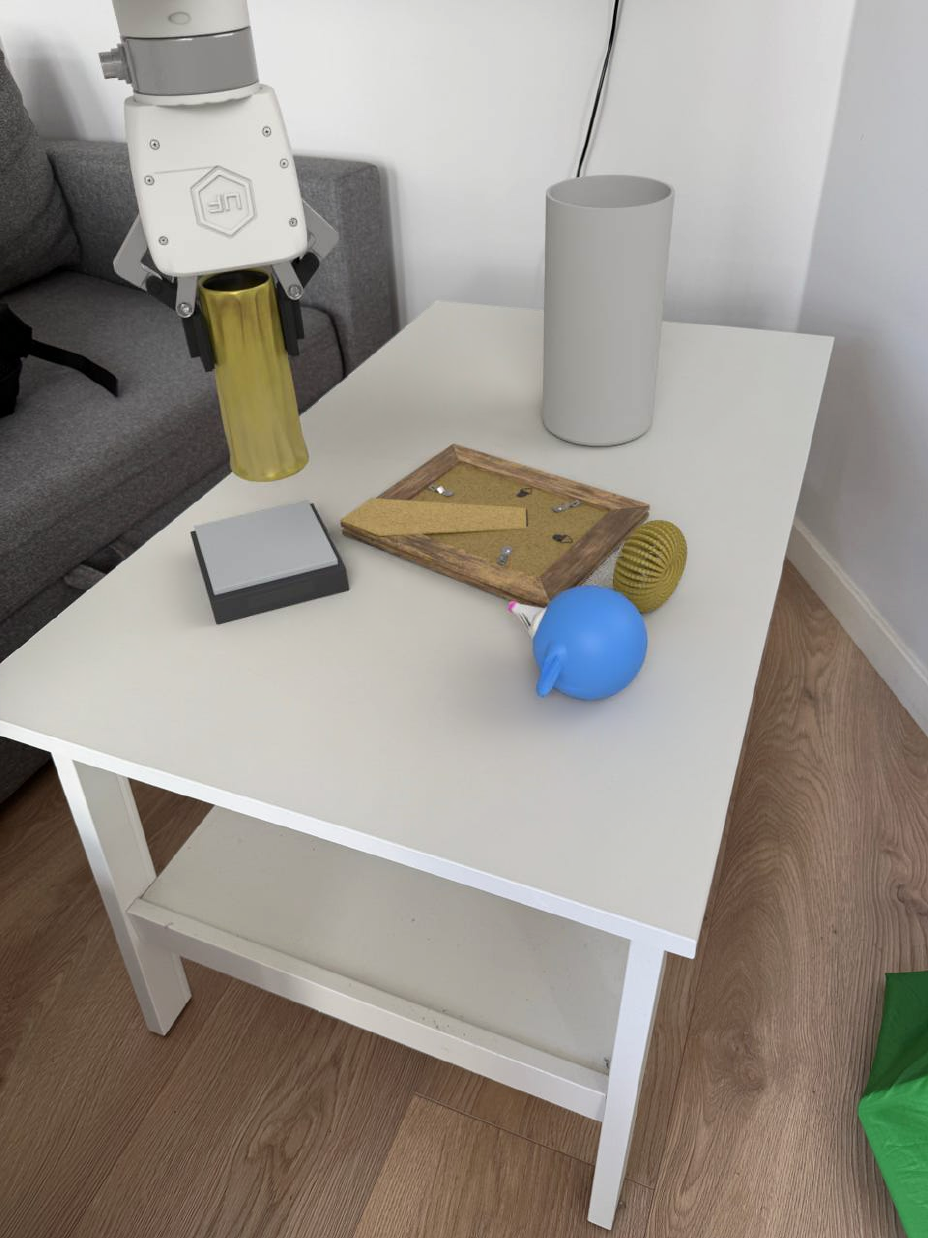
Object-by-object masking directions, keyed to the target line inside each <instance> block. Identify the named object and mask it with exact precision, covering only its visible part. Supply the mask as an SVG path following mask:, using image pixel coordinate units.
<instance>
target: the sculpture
mask: <svg viewBox="0 0 928 1238" xmlns="http://www.w3.org/2000/svg"><path fill="white" fill-rule="evenodd" d="M687 559H688V544H687V540H686V537H685V535H684V533H683V532H682V530H681V529H680V528H679V526H677V525H675V524H674V523H673V522H670V521H667V520H664V519H653V520H650V521H646V522H643V523H642V524H641V525H640V526H639V527H638V528H637V529H636V530H635V531H634V532H632V533H631V535H630V536H629V537H628V538H627V539H626V540H625V541H624V542H623V545H622V546H621V549H620V551H619V553H618V556H617V557H616V561H615V564H614V568H613V574H612V584H613V590H614V591H617V592H620V593H621V594H622V595H624V596H625V597H626V598H627V599H628V600H630V601H631V602H632V603H633V604H634V606H635V607H636V608H637V609H638V611H639V612H640V614H641V613H648V612H649V613H650V612H653V611H655V610H657V609H659V608H660V607H662V606H663V605H664V604H665V603H666V602H667V601H668V600H669V599H670V598H671V597H672V596H673V594H674V592H675V591H676V589H677V587H678V586H679V584H680V583H679V582H681V580H682V577H683V574H684V571H685V569H686V564H687V561H688V560H687Z"/></svg>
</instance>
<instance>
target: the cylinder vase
mask: <svg viewBox="0 0 928 1238" xmlns="http://www.w3.org/2000/svg"><path fill="white" fill-rule="evenodd" d="M675 195H676V190H675V187H673V185H671V184H669V183H668V182H665V181H663V180H660V179H656V178H652V177H648V176H647V177H646V176H639V175H632V174H631V175H630V174H596V175H595V174H594V175H586V176H577V177H573V178H569V179H568V178H567V179H563V180H560V181H558V182H555V183H554V184H551V185H550V186H549V187H547V188H546V191H545V225H544V226H545V227H544V229H545V230H544V236H545V237H544V243H545V245H544V292H543V293H544V295H543V296H544V297H543V306H544V307H543V354H542V355H543V356H542V357H543V360H542V361H543V362H542V421H543V424H544V426H545V428H546V429H547V431H549V432H550V433H551V434H553V435H554V436H555V437H557V438H559V439H560V440H562V441H566V442H568V443H571V444H575V445H579V446H588V447H610V446H617V445H622V444H626V443H629V442H631V441H634V440H636V439H638V438H640V437H641V436H643V435H644V434H645V433H646V432H648V430H649V428H650V427H651V426H652V423H653V419H654V409H655V408H654V407H655V399H656V388H657V379H658V378H657V377H658V367H659V357H660V347H661V338H662V327H663V317H664V307H665V295H666V287H667V278H668V277H667V275H668V266H669V256H670V246H671V237H672V236H671V235H672V225H673V216H674V205H675Z"/></svg>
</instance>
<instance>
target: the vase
mask: <svg viewBox="0 0 928 1238" xmlns="http://www.w3.org/2000/svg"><path fill="white" fill-rule="evenodd" d="M197 294H198V298H199V303H200V309H201V311H202V314H203V316H204V320H205V324H206V329H207V333H208V338H209V343H210V347H211V352H212V356H213V361H214V365H215V369H213V373H214V381H215V385H216V391H217V397H218V402H219V408H220V413H221V419H222V424H223V431H224V434H225V438H226V439H225V440H226V443H227V447H228V451H229V466H230V469H231V471H232V473H233V474H234V475H235V476H236V477H238V478H240V479H243V480H245V481H249V482H255V483H268V482H269V483H270V482H276V481H281V480H285V479H287V478H290V477H292V476H295V475H297V474H298V473H300V472H301V471H302V470H303V469H305V467H306V466H307V465H308V463H309V461H310V454H309V450H308V446H307V445H306V441H305V439H304V435H303V431H302V424H301V420H300V415H299V409H298V403H297V398H296V390H295V387H294V381H293V376H292V370H291V367H290V366H291V365H290V360H289V354H288V353H287V351H286V346H285V340H284V333H283V328H282V322H281V316H280V310H279V304H278V297H277V292H276V281H275V277H274V275H273V272H271V271H270V270H268V269H265V268H263V267H252V268H246V269H239V270H233V271H226V272H220V273H213V274H206V275H203V276H202V277H201V278H200V279H199V280H197Z"/></svg>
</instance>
